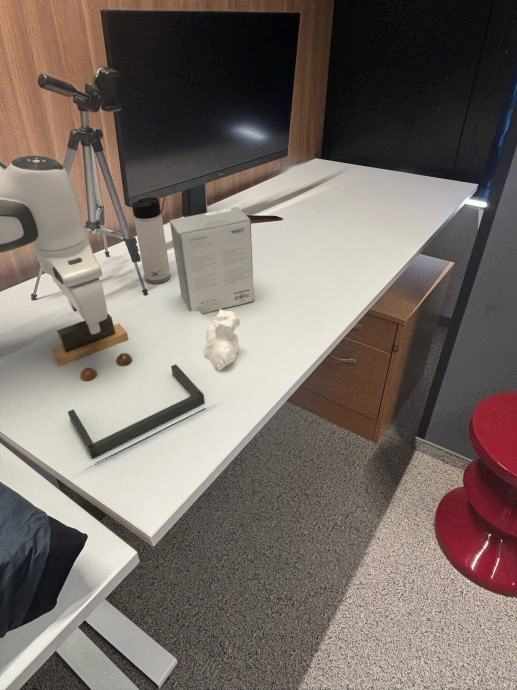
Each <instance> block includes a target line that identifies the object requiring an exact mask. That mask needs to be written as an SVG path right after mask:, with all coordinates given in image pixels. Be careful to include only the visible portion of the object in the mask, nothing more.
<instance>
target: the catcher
mask: <svg viewBox="0 0 517 690" xmlns="http://www.w3.org/2000/svg"><path fill="white" fill-rule="evenodd" d="M170 368H171V373H172V374H171V375H172V376H173V377H174V378H175V380H177V382H178V383H179V384H180V386H182V387H183V389H184V390H185V391H186V392H187V393H188V394H189V396H188V397H187V398H184V399H183V400H180V401H178V402H175V403H174V404H171V405H170V406H168V407H166V408H164V409H161V410H159V411H157V412H155V413H153V414H151V415H149V416H147V417H145V418H143V419H141V420H139V421H136V422H135V423H132V424H130V425H129V426H126V427H125V428H122V429H120V430H118V431H116V432H114V433H112V434H110V435H108V436H105V437H103V438H101V439H99V440H97V441H95V442H94V441H93V440H92V438H91V436H90V435H89V434H88V431H87V429H86V428H85V426H84V425H83V423H82V421H81V419H80V418H79V416H78V414H77V413H76V411H75V410H74V409H70V410H69V411H67V415H68V418H69V420H70V423H71V424H72V426H73V427H74V429H75V431H76V432H77V434H78V436H79V438H80V440H81V441H82V443H83V445H84V446H85V448H86V450H87V453H88V454H89V456H90V458H91V459H92V460H93V459H95V458H98V457H99V456H102V455H103V454H106V453H108V452H110V451H112V450H113V449H116V448H118V447H120V446H122V445H124V444H126V443H128V442H130V441H131V440H134V439H136V438H138V437H140V436H142V435H144V434H146V433H148V432H150V431H152V430H154V429H156V428H158V427H160V426H162V425H164V424H166V423H168V422H170V421H173V420H174V419H176V418H179V417H180V416H182V415H184V414H187V413H189V412H191V411H192V410H195V409H196V408H198V407H200V406H202V405H205V401H206V400H205V395H204V393H203V392H202V391H201V390H200V388H198V387H197V386H196V384H194V382H193V381H192V380H191V379H190V378H189V377H188V376H187V374H186V373H185V372H184V371H183V370H182V369H181V368H180V367H179V366H178V365H177V363H176V364H172V365H171V366H170ZM204 410H206V407H204V408H202V409H199V410H198V411H195V412H194V413H192V414H190V415H188V416H186V417H184V418H182V419H180V420H178V421H176V422H174V423H172V424H170V425H168V426H165V427H164V428H162V429H160V430H158V431H156V432H154V433H152V434H150V435H148V436H146V437H144V438H143V439H140V440H137V441H136V442H134V443H133V444H130V445H129V446H126V447H125V448H123V449H120V450H119V451H115V452H114V453H112V454H110V455H108V456H106V457H104V458H102V459H100V460H99V461H97V462H94V464H95V463H97V464H99V463H101V462H103V461H105V460H108V459H109V458H111V457H113V456H115V455H117V454H119V453H121V452H123V451H125V450H127V449H129V448H131V447H133V446H135V445H137V444H139V443H141V442H143V441H144V440H146V439H148V438H151V437H152V436H154V435H156V434H159V433H160V432H163V431H165V430H167V429H168V428H170V427H172V426H175V425H176V424H179V423H180V422H183V421H185V420H186V419H188V418H190V417H193V416H195V415H196V414H198V413H200V412H203V411H204ZM118 452H119V453H118ZM110 456H111V457H110ZM108 457H109V458H108ZM104 459H105V460H104ZM102 460H103V461H102ZM100 461H101V462H100ZM98 462H99V463H98ZM94 464H93V465H94ZM95 465H96V464H95Z"/></svg>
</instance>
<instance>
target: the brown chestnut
mask: <svg viewBox="0 0 517 690" xmlns="http://www.w3.org/2000/svg"><path fill="white" fill-rule="evenodd" d="M79 376H80V380H81V381H83V382H91V381H94V380H95V379H96V378H97V377H98V372H97V370H96V369H95V368H93V367H85V368H83V369H82V371H81V372H80V374H79Z"/></svg>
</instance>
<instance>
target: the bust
mask: <svg viewBox="0 0 517 690" xmlns="http://www.w3.org/2000/svg"><path fill="white" fill-rule="evenodd" d="M240 323H241V320H240V318H239V316H238V314H237V313H236V312H234V311H229V310H223V309H218V314H216V315H215V316H214V317H212V322H211V323H210V324H209V326H208V328H207V329H206V333H205V345H204V348H203V357H205V359H207V360H208V361H209V362H210V363H211V364H212V365H213V367H214V369H215V370H217V371H218V372H220V371H223V370H224V369H225V368H226V367H227V366H229V364H231V363H233V362H235V361H236V360H237V357H238V352H239V350H240V345H239V338H238V335H237V334H236V333H235V330H236V328H237V327H239V326H240V325H241V324H240Z"/></svg>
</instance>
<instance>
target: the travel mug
mask: <svg viewBox="0 0 517 690" xmlns="http://www.w3.org/2000/svg"><path fill="white" fill-rule="evenodd" d="M131 209H132V214H133V220H134V226H135V231H136V232H135V233H136V237H137V243H138V248H139V253H140V258H141V264H142V269H143V275H144V276H143V277H144V279H145V281H146V282H147V283H149V284H155V285H157V284H159V285H160V284H162V283H165V282H167V281H169V280H170V278H171V271H170V262H169V256H168V249H167V243H166V235H165V229H164V228H165V227H164V222H163V215H162V210H161V204H160V199H159V198H158V197H144V198H141V199H138V200H137V201H135V202H132V204H131Z"/></svg>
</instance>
